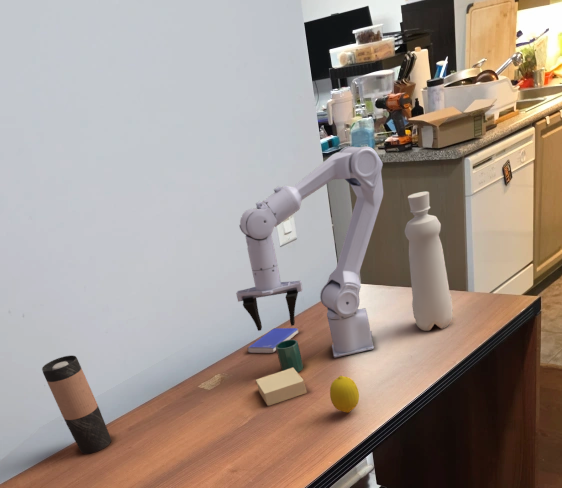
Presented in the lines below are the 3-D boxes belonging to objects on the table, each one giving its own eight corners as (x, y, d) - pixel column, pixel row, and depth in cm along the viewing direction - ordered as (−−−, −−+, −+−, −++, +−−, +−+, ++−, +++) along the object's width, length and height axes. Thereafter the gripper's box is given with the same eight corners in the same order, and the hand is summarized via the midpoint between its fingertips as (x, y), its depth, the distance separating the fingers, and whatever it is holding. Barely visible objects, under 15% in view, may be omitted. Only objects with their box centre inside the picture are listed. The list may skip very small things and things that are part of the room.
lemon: (365, 405, 129) (358, 369, 125) (356, 419, 125) (349, 382, 121) (340, 406, 132) (332, 370, 128) (330, 419, 128) (322, 383, 124)
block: (296, 379, 149) (293, 367, 147) (307, 393, 141) (303, 380, 139) (258, 391, 148) (255, 379, 146) (267, 406, 140) (264, 393, 139)
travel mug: (118, 435, 146) (84, 353, 136) (100, 454, 140) (62, 369, 130) (91, 437, 149) (55, 356, 139) (72, 455, 143) (33, 372, 133)
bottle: (414, 321, 161) (397, 195, 146) (452, 314, 159) (438, 186, 144) (416, 335, 154) (397, 203, 139) (455, 328, 151) (441, 193, 136)
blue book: (272, 347, 165) (297, 327, 173) (247, 347, 170) (272, 328, 178) (273, 353, 166) (298, 333, 174) (248, 352, 171) (274, 333, 179)
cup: (303, 363, 156) (297, 337, 153) (303, 371, 151) (297, 345, 148) (282, 367, 156) (275, 342, 153) (282, 376, 152) (275, 350, 149)
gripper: (229, 277, 139) (243, 337, 146) (296, 265, 137) (306, 327, 144) (234, 268, 146) (247, 327, 152) (298, 257, 143) (308, 317, 150)
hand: (276, 326), depth 148 cm, fingers open, 7 cm apart
